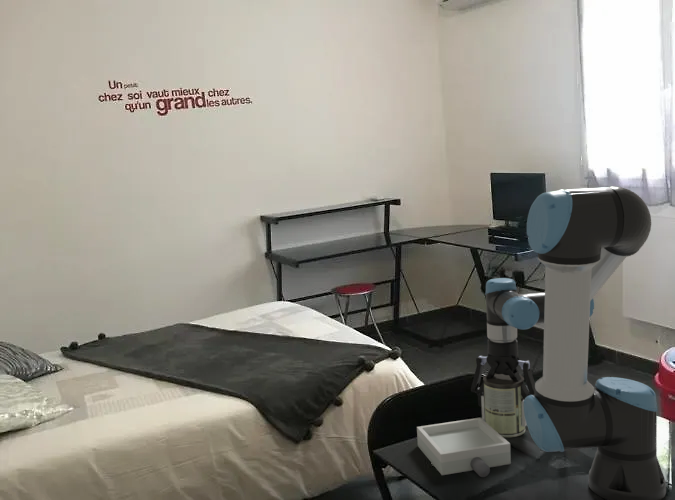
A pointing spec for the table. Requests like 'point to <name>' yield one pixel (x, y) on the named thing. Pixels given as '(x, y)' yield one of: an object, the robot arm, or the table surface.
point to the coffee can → (503, 405)
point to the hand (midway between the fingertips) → (504, 421)
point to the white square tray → (463, 446)
